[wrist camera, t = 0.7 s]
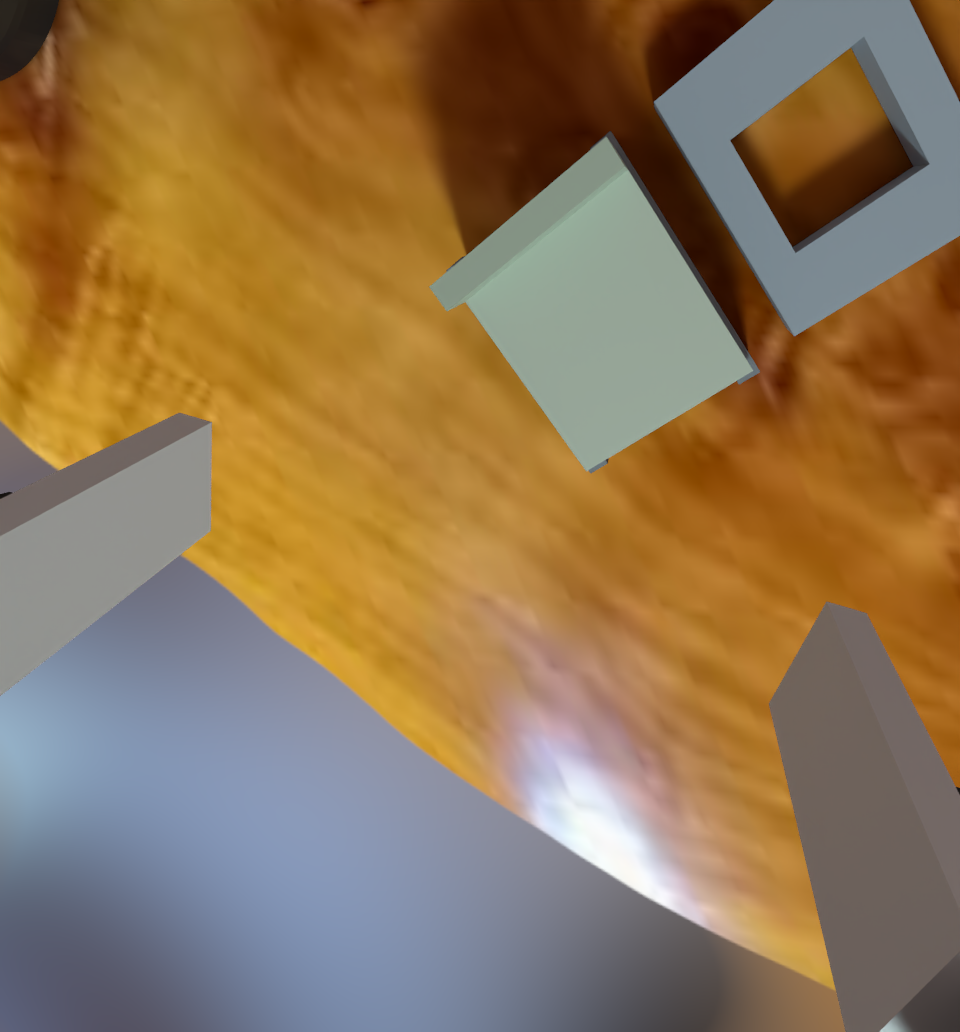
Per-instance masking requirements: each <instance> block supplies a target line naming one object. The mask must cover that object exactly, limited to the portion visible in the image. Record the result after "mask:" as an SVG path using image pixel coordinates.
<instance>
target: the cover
mask: <svg viewBox="0 0 960 1032" xmlns="http://www.w3.org/2000/svg"><path fill="white" fill-rule="evenodd" d="M430 288H431V290H432V291H433V293H434V294H435V295H436V297H437V298H438V300H439V301H440V302H441V304H442V305H443V306H444V308H445V309H446V311H449V310H450V309H452V308H454V307H456V306H458V305H460V304H462V303H464V302H466V303H467V305H468V306H469V308H470V309H471V310H472V312H473V313H474V315H475V316H476V317H477V319H478V320H479V322H480V323H481V324H482V326H483V327H484V329H485V330H486V331H487V333H488V334H489V336H490V337H491V338H492V340H493V341H494V343H495V344H496V345H497V347H498V348H499V350H500V351H501V352H502V354H503V355H504V357H505V358H506V359H507V361H508V362H509V364H510V365H511V366H512V368H513V369H514V371H515V372H516V373H517V375H518V376H519V378H520V379H521V380H522V382H523V383H524V385H525V386H526V387H527V389H528V390H529V392H530V393H531V394H532V396H533V397H534V399H535V400H536V401H537V403H538V404H539V406H540V407H541V408H542V410H543V411H544V413H545V414H546V415H547V417H548V418H549V420H550V421H551V422H552V424H553V425H554V427H555V428H556V429H557V431H558V432H559V434H560V435H561V436H562V438H563V439H564V441H565V442H566V444H567V445H568V446H569V448H570V449H571V451H572V452H573V453H574V455H575V456H576V458H577V459H578V460H579V462H580V463H581V465H582V466H583V467H584V469H585V470H586V471H588V470H589V469H591V468H593V467H594V466H596V465H598V464H599V463H601V462H603V461H604V460H606V459H608V458H609V457H611V456H613V455H614V454H616V453H618V452H619V451H621V450H623V449H624V448H626V447H628V446H629V445H631V444H633V443H634V442H636V441H638V440H639V439H641V438H643V437H644V436H646V435H648V434H649V433H651V432H653V431H654V430H656V429H657V428H659V427H661V426H662V425H664V424H666V423H667V422H669V421H671V420H672V419H674V418H676V417H677V416H679V415H681V414H682V413H684V412H686V411H687V410H689V409H691V408H692V407H694V406H696V405H697V404H699V403H701V402H702V401H704V400H706V399H707V398H709V397H711V396H712V395H714V394H716V393H717V392H719V391H721V390H722V389H724V388H725V387H727V386H729V385H730V384H732V383H734V382H735V381H737V380H739V379H740V378H742V377H744V376H745V375H747V374H749V373H750V372H752V371H753V369H752V368H751V366H750V364H749V363H748V361H747V359H746V358H745V356H744V355H743V353H742V351H741V350H740V348H739V347H738V345H737V343H736V342H735V340H734V339H733V337H732V335H731V334H730V332H729V331H728V329H727V327H726V326H725V324H724V323H723V321H722V319H721V318H720V316H719V315H718V313H717V311H716V310H715V308H714V306H713V305H712V303H711V302H710V300H709V298H708V297H707V295H706V294H705V292H704V290H703V289H702V287H701V286H700V284H699V282H698V281H697V279H696V278H695V276H694V274H693V273H692V271H691V270H690V268H689V266H688V265H687V263H686V262H685V260H684V258H683V257H682V255H681V254H680V252H679V250H678V249H677V247H676V246H675V244H674V242H673V241H672V239H671V237H670V236H669V234H668V233H667V231H666V229H665V228H664V226H663V225H662V223H661V221H660V220H659V218H658V217H657V215H656V213H655V212H654V210H653V209H652V207H651V205H650V204H649V202H648V201H647V199H646V197H645V196H644V194H643V193H642V191H641V189H640V188H639V186H638V185H637V183H636V181H635V180H634V178H633V176H632V175H631V173H630V172H629V170H628V168H627V167H626V165H625V164H624V162H623V160H622V159H621V157H620V156H619V154H618V152H617V151H616V149H615V148H614V146H613V144H612V143H611V142H610V141H609V139H608V138H607V137H605V138H604V139H603V140H602V141H600V142H599V143H598V144H597V145H596V146H595V147H593V148H592V149H591V150H590V151H589V152H587V153H586V154H585V155H584V156H583V157H582V158H580V159H579V160H578V161H577V162H576V163H575V164H573V165H572V166H571V167H570V168H569V169H567V170H566V171H565V172H564V173H563V174H562V175H560V176H559V177H558V178H557V179H556V180H555V181H553V182H552V183H551V184H550V185H549V186H547V187H546V188H545V189H544V190H543V191H542V192H540V193H539V194H538V195H537V196H536V197H535V198H533V199H532V200H531V201H530V202H529V203H527V204H526V205H525V206H524V207H523V208H522V209H520V210H519V211H518V212H517V213H516V214H515V215H513V216H512V217H511V218H510V219H509V220H507V221H506V222H505V223H504V224H503V225H502V226H500V227H499V228H498V229H497V230H496V231H495V232H493V233H492V234H491V235H490V236H489V237H487V238H486V239H485V240H484V241H483V242H482V243H480V244H479V245H478V246H477V247H476V248H475V249H473V250H472V251H471V252H470V253H469V254H467V255H466V256H465V257H464V258H463V259H462V260H460V261H459V262H458V263H457V264H456V265H455V266H453V267H452V268H451V269H450V270H449V271H447V272H446V273H445V274H444V275H443V276H442V277H440V278H439V279H438V280H437V281H436V282H435V283H433V284H432V285H431V286H430Z"/></svg>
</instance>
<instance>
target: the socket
mask: <svg viewBox="0 0 960 1032" xmlns="http://www.w3.org/2000/svg"><path fill="white" fill-rule="evenodd" d="M850 47H851V48H852V50H853V52H854V54H855V56H856V58H857V60H858V62H859V64H860V65H861V67H862V69H863V71H864V73H865V75H866V77H867V79H868V81H869V83H870V85H871V87H872V88H873V90H874V92H875V94H876V96H877V98H878V100H879V102H880V104H881V106H882V108H883V110H884V111H885V113H886V115H887V117H888V119H889V121H890V123H891V125H892V127H893V129H894V131H895V133H896V134H897V136H898V138H899V140H900V142H901V144H902V146H903V148H904V150H905V152H906V154H907V156H908V157H909V159H910V161H911V163H912V165H913V167H912V168H910V169H909V170H907V171H906V172H904V173H903V174H901V175H900V176H898V177H897V178H895V179H894V180H892V181H891V182H889V183H888V184H886V185H885V186H883V187H882V188H880V189H879V190H877V191H876V192H874V193H873V194H871V195H870V196H868V197H867V198H865V199H864V200H862V201H861V202H859V203H858V204H856V205H855V206H853V207H852V208H850V209H849V210H847V211H846V212H844V213H843V214H841V215H840V216H838V217H837V218H835V219H834V220H832V221H831V222H830V223H828V224H827V225H825V226H824V227H822V228H821V229H819V230H818V231H816V232H815V233H813V234H812V235H810V236H809V237H807V238H806V239H804V240H803V241H801V242H800V243H798V244H797V245H795V246H794V247H792V246H791V244H790V243H789V241H788V239H787V237H786V236H785V234H784V232H783V231H782V229H781V227H780V225H779V224H778V222H777V220H776V218H775V217H774V215H773V213H772V212H771V210H770V208H769V206H768V205H767V203H766V201H765V200H764V198H763V196H762V194H761V193H760V191H759V189H758V188H757V186H756V184H755V182H754V181H753V179H752V177H751V175H750V174H749V172H748V170H747V169H746V167H745V165H744V163H743V162H742V160H741V158H740V157H739V155H738V153H737V151H736V150H735V148H734V146H733V144H732V143H731V141H730V140H731V139H733V138H734V137H735V136H737V135H738V134H739V133H740V132H742V131H743V130H744V129H746V128H747V127H748V126H749V125H751V124H752V123H753V122H755V121H756V120H757V119H759V118H760V117H761V116H762V115H764V114H765V113H766V112H768V111H769V110H770V109H771V108H773V107H774V106H775V105H777V104H778V103H779V102H781V101H782V100H783V99H784V98H786V97H787V96H788V95H790V94H791V93H792V92H793V91H795V90H796V89H797V88H799V87H800V86H801V85H802V84H804V83H805V82H806V81H808V80H809V79H810V78H812V77H813V76H814V75H815V74H817V73H818V72H819V71H821V70H822V69H823V68H824V67H826V66H827V65H828V64H830V63H831V62H832V61H834V60H835V59H836V58H837V57H839V56H840V55H841V54H843V53H844V52H845V51H846V50H848V49H849V48H850ZM654 108H655V110H656V112H657V113H658V115H659V117H660V118H661V120H662V122H663V123H664V125H665V127H666V128H667V130H668V132H669V133H670V135H671V137H672V138H673V140H674V142H675V143H676V145H677V147H678V148H679V150H680V152H681V153H682V155H683V157H684V158H685V160H686V162H687V163H688V165H689V167H690V168H691V170H692V172H693V173H694V175H695V177H696V178H697V180H698V182H699V183H700V185H701V186H702V188H703V190H704V191H705V193H706V195H707V196H708V198H709V200H710V201H711V203H712V205H713V206H714V208H715V210H716V211H717V213H718V215H719V216H720V218H721V220H722V221H723V223H724V225H725V226H726V228H727V230H728V231H729V233H730V235H731V236H732V238H733V240H734V241H735V243H736V245H737V246H738V248H739V250H740V251H741V253H742V255H743V256H744V258H745V260H746V261H747V263H748V265H749V266H750V268H751V270H752V271H753V273H754V275H755V276H756V278H757V280H758V281H759V283H760V285H761V286H762V288H763V290H764V291H765V293H766V295H767V296H768V298H769V300H770V301H771V303H772V305H773V306H774V308H775V310H776V311H777V313H778V315H779V316H780V318H781V320H782V321H783V323H784V325H785V326H786V328H787V329H788V330H789V331H790V332H791V333H792V334H793V335H794V336H796V335H797V334H799V333H800V332H802V331H804V330H805V329H807V328H809V327H810V326H812V325H814V324H815V323H817V322H818V321H820V320H822V319H823V318H825V317H827V316H828V315H830V314H832V313H833V312H835V311H837V310H838V309H840V308H841V307H843V306H845V305H846V304H848V303H850V302H851V301H853V300H855V299H856V298H858V297H860V296H861V295H863V294H864V293H866V292H868V291H869V290H871V289H873V288H874V287H876V286H878V285H879V284H881V283H882V282H884V281H886V280H887V279H889V278H891V277H892V276H894V275H896V274H897V273H899V272H901V271H902V270H904V269H905V268H907V267H909V266H910V265H912V264H914V263H915V262H917V261H919V260H920V259H922V258H923V257H925V256H927V255H928V254H930V253H932V252H933V251H935V250H937V249H938V248H940V247H942V246H943V245H945V244H946V243H948V242H950V241H951V240H953V239H955V238H956V237H958V236H960V102H959V100H958V98H957V95H956V93H955V91H954V89H953V87H952V85H951V83H950V81H949V79H948V77H947V75H946V73H945V71H944V69H943V67H942V65H941V63H940V61H939V59H938V57H937V55H936V53H935V51H934V49H933V47H932V45H931V43H930V41H929V39H928V37H927V35H926V33H925V31H924V29H923V27H922V25H921V23H920V21H919V19H918V17H917V15H916V13H915V11H914V9H913V6H912V4H911V2H910V0H774V1H773V2H771V3H770V4H769V5H768V6H767V7H765V8H764V9H763V10H762V11H761V12H760V13H758V14H757V15H756V16H755V17H754V18H752V19H751V20H750V21H749V22H748V23H747V24H745V25H744V26H743V27H742V28H741V29H739V30H738V31H737V32H736V33H735V34H734V35H732V36H731V37H730V38H729V39H728V40H726V41H725V42H724V43H723V44H722V45H721V46H719V47H718V48H717V49H716V50H715V51H713V52H712V53H711V54H710V55H709V56H708V57H706V58H705V59H704V60H703V61H702V62H700V63H699V64H698V65H697V66H696V67H695V68H693V69H692V70H691V71H690V72H689V73H687V74H686V75H685V76H684V77H683V78H682V79H680V80H679V81H678V82H677V83H676V84H674V85H673V86H672V87H671V88H670V89H669V90H667V91H666V92H665V93H664V94H663V95H661V96H660V97H659V98H658V99H657V100H656V101H654Z"/></svg>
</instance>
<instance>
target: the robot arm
mask: <svg viewBox="0 0 960 1032" xmlns="http://www.w3.org/2000/svg"><path fill="white" fill-rule="evenodd" d="M58 2H59V0H0V81H2V80H4V79H6V78H8V77H10V76H12V75H14V74H15V73H17V72H18V71H20V70H21V69H22V68H23V67H25V66H26V65H27V64H28V63H29V62H30V61H31V59H32V58H33V57H34V56H35V55H36V53H37V52H38V50H39V49H40V48H41V46H42V44H43V42H44V41H45V39H46V37H47V35H48V33H49V30H50V28H51V26H52V23H53V20H54V17H55V14H56V10H57V7H58ZM211 443H212V422H209V421H206V420H202V419H199V418H195V417H192V416H189V415H185V414H182V413H178V414H176V415H174V416H172V417H170V418H168V419H165V420H163V421H161V422H159V423H157V424H155V425H153V426H151V427H149V428H147V429H145V430H143V431H141V432H138V433H136V434H134V435H132V436H130V437H128V438H126V439H124V440H122V441H120V442H118V443H116V444H114V445H112V446H109V447H107V448H105V449H103V450H101V451H99V452H97V453H95V454H93V455H91V456H89V457H87V458H85V459H82V460H80V461H78V462H76V463H74V464H72V465H70V466H68V467H66V468H64V469H62V470H60V471H58V472H56V473H53V474H51V475H49V476H47V477H45V478H43V479H41V480H39V481H37V482H35V483H33V484H31V485H29V486H27V487H24V488H22V489H20V490H18V491H16V492H14V493H12V492H7V493H4V494H0V696H1V695H2V694H3V693H5V692H6V691H7V690H9V689H10V688H11V687H12V686H14V685H15V684H16V683H17V682H19V681H20V680H21V679H23V678H24V677H25V676H26V675H28V674H29V673H30V672H31V671H33V670H34V669H35V668H36V667H38V666H39V665H40V664H42V663H43V662H44V661H45V660H47V659H48V658H49V657H51V656H52V655H53V654H54V653H56V652H57V651H58V650H59V649H61V648H62V647H63V646H65V645H66V644H67V643H68V642H70V641H71V640H72V639H73V638H74V637H76V636H77V635H78V634H80V633H81V632H82V631H84V630H85V629H86V628H87V627H89V626H90V625H91V624H92V623H94V622H95V621H96V620H98V619H99V618H100V617H101V616H103V615H104V614H105V613H107V612H108V611H109V610H110V609H112V608H113V607H114V606H115V605H117V604H118V603H119V602H121V601H122V600H123V599H124V598H125V597H127V596H128V595H129V594H131V593H132V592H133V591H135V590H136V589H137V588H138V587H140V586H141V585H142V584H143V583H145V582H146V581H147V580H148V579H150V578H151V577H152V576H154V575H155V574H156V573H157V572H159V571H160V570H161V569H162V568H164V567H165V566H166V565H168V564H169V563H170V562H171V561H173V560H174V559H175V558H176V557H178V556H179V555H180V554H182V553H183V552H184V551H185V550H187V549H188V548H189V547H191V546H192V545H193V544H194V543H196V542H197V541H198V540H199V539H201V538H202V537H203V536H205V535H206V534H207V533H208V532H210V531H211ZM769 706H770V711H771V715H772V719H773V723H774V728H775V732H776V736H777V740H778V745H779V749H780V753H781V758H782V762H783V766H784V770H785V775H786V779H787V783H788V787H789V792H790V796H791V800H792V804H793V809H794V813H795V817H796V822H797V826H798V830H799V834H800V839H801V843H802V847H803V851H804V856H805V860H806V864H807V869H808V873H809V877H810V881H811V886H812V890H813V894H814V898H815V903H816V907H817V911H818V916H819V920H820V924H821V928H822V933H823V937H824V941H825V945H826V950H827V954H828V958H829V962H830V967H831V971H832V975H833V980H834V984H835V988H836V992H837V997H838V1001H839V1005H840V1009H841V1014H842V1018H843V1022H844V1026H845V1031H846V1032H960V788H958V787H955V785H954V783H953V781H952V779H951V777H950V775H949V773H948V771H947V769H946V767H945V765H944V763H943V761H942V759H941V758H940V756H939V754H938V752H937V750H936V748H935V746H934V744H933V742H932V740H931V738H930V736H929V734H928V732H927V730H926V728H925V726H924V724H923V722H922V720H921V719H920V717H919V715H918V713H917V711H916V709H915V707H914V705H913V703H912V701H911V699H910V697H909V695H908V693H907V691H906V689H905V687H904V685H903V683H902V681H901V680H900V678H899V676H898V674H897V672H896V670H895V668H894V666H893V664H892V662H891V660H890V658H889V656H888V654H887V652H886V650H885V648H884V646H883V644H882V642H881V641H880V639H879V637H878V635H877V633H876V631H875V629H874V627H873V625H872V623H871V621H870V619H869V617H868V615H867V613H864V612H860V611H857V610H854V609H850V608H847V607H843V606H840V605H836V604H833V603H830V602H826V604H825V605H824V607H823V609H822V611H821V613H820V614H819V616H818V618H817V620H816V621H815V623H814V625H813V627H812V628H811V630H810V632H809V634H808V636H807V637H806V639H805V641H804V643H803V644H802V646H801V648H800V650H799V651H798V653H797V655H796V657H795V659H794V660H793V662H792V664H791V666H790V667H789V669H788V671H787V673H786V674H785V676H784V678H783V680H782V682H781V683H780V685H779V687H778V689H777V690H776V692H775V694H774V696H773V697H772V699H771V701H770V703H769Z"/></svg>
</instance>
